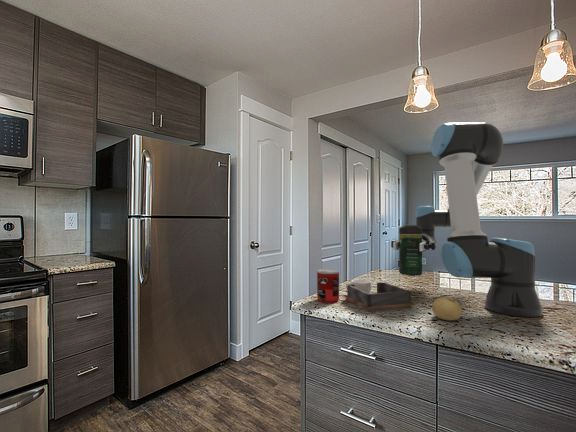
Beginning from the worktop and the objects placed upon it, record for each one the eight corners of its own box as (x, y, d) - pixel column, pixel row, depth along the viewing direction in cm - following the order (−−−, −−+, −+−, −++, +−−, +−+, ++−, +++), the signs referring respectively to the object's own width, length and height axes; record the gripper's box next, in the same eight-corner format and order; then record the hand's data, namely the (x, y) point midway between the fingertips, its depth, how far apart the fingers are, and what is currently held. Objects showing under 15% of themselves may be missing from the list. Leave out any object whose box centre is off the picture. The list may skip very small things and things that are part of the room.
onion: (428, 319, 91) (428, 295, 91) (436, 313, 97) (436, 290, 97) (459, 325, 86) (458, 300, 86) (464, 318, 92) (464, 294, 92)
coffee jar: (424, 277, 108) (423, 224, 108) (400, 276, 110) (400, 224, 110) (420, 272, 117) (419, 223, 117) (398, 271, 119) (397, 223, 119)
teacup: (369, 292, 124) (369, 279, 124) (373, 297, 117) (373, 283, 117) (344, 292, 125) (344, 279, 125) (346, 297, 118) (346, 282, 118)
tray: (410, 307, 103) (410, 291, 103) (368, 311, 99) (368, 294, 99) (383, 296, 118) (383, 282, 118) (346, 299, 114) (346, 284, 114)
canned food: (315, 298, 116) (315, 269, 116) (335, 297, 117) (335, 268, 117) (319, 303, 108) (319, 272, 108) (341, 302, 109) (341, 272, 109)
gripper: (449, 253, 122) (439, 259, 103) (394, 250, 134) (377, 255, 115) (448, 234, 122) (439, 237, 103) (394, 233, 134) (377, 235, 115)
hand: (407, 246), depth 109 cm, fingers closed on coffee jar, 8 cm apart
